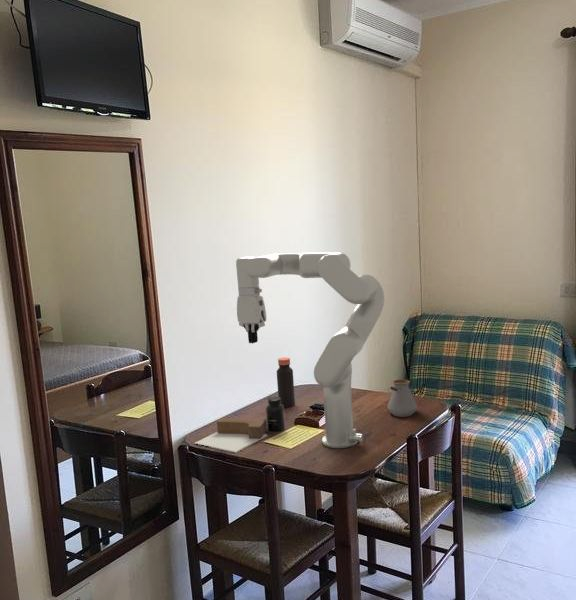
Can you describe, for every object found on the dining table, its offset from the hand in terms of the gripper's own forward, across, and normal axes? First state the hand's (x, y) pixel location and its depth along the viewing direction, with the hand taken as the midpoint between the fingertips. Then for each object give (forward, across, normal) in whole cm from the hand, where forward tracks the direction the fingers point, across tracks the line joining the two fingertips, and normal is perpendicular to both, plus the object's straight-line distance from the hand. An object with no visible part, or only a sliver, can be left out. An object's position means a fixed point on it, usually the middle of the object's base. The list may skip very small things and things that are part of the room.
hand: (253, 342), depth 219 cm
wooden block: (+32, -2, 0) cm, 32 cm away
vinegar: (+35, +11, -34) cm, 50 cm away
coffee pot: (+35, -38, -37) cm, 64 cm away
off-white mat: (+35, +7, +8) cm, 36 cm away
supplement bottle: (+35, -2, -7) cm, 36 cm away
